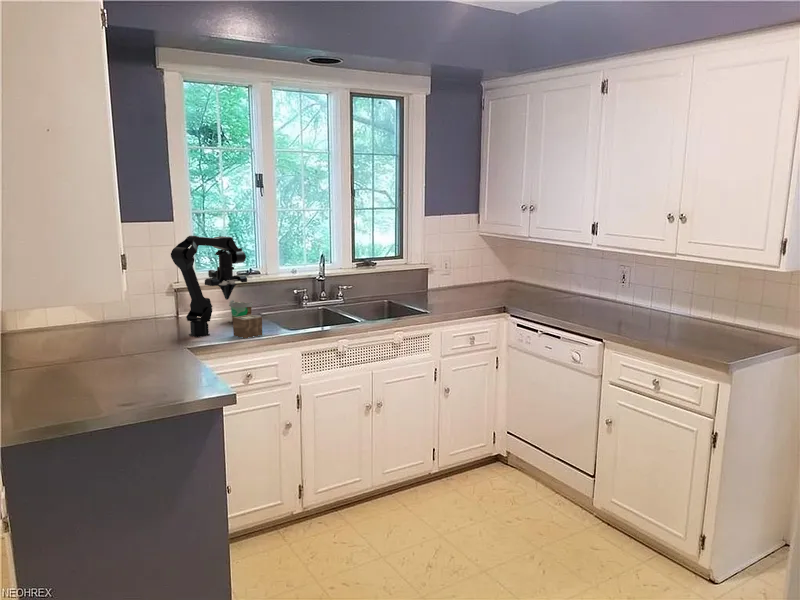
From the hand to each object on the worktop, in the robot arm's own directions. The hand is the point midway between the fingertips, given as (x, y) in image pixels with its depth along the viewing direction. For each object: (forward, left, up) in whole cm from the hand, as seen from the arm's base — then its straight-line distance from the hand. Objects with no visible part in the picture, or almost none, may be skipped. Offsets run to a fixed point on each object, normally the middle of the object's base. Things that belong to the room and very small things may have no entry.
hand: (227, 299), depth 275 cm
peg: (-3, -19, -13) cm, 23 cm away
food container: (+10, +6, -13) cm, 18 cm away
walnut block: (-3, -19, -13) cm, 23 cm away
